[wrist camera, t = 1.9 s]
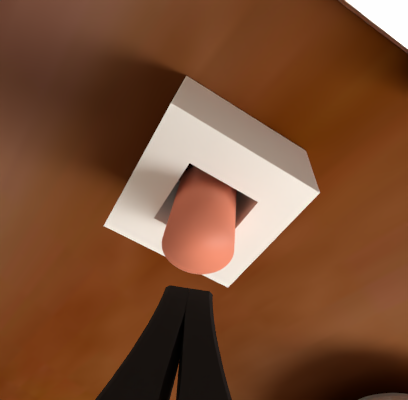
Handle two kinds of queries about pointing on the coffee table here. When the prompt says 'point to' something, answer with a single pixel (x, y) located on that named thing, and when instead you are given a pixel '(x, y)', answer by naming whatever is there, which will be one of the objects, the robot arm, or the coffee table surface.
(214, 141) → the box
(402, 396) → the cereal bowl
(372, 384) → the coffee table surface
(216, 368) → the robot arm
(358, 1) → the slide rail
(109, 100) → the coffee table surface
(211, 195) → the plunger
